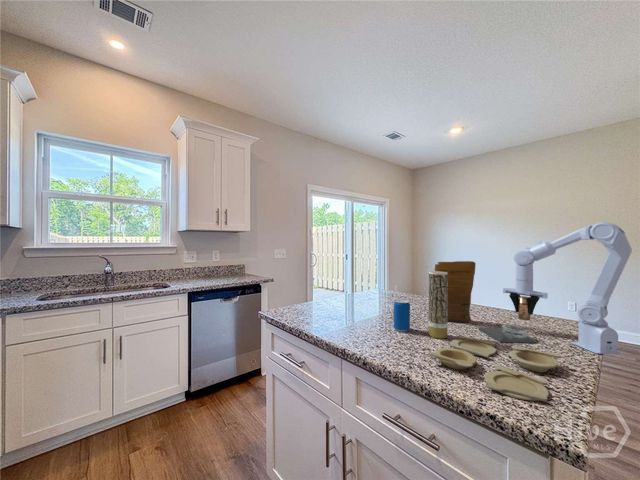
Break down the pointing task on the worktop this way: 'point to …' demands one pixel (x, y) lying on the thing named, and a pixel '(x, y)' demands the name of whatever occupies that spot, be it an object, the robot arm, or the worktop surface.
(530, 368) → the tableware set
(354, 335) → the worktop surface
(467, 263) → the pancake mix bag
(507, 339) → the collar stand
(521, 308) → the brown banded cylinder
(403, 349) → the worktop surface
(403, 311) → the beverage can
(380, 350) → the worktop surface
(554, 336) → the worktop surface
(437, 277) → the grey patterned cylinder
